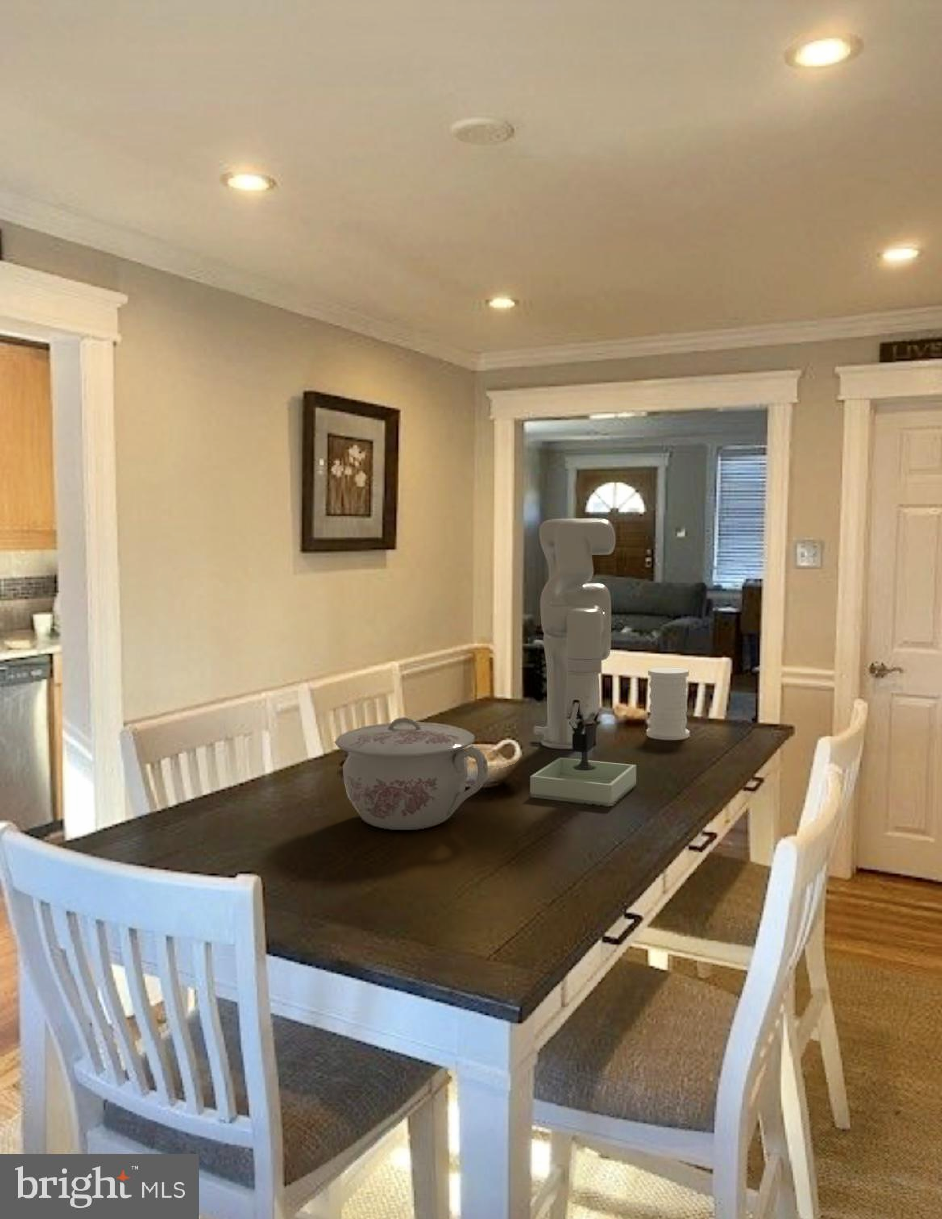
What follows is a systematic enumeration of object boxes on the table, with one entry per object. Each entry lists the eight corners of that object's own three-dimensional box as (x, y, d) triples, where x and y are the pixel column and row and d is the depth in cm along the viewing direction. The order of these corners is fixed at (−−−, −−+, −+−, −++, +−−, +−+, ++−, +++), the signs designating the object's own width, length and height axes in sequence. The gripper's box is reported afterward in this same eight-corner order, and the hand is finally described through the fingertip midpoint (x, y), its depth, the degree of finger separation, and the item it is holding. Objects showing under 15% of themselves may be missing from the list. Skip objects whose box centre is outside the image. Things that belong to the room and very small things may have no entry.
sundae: (562, 768, 209) (562, 700, 208) (581, 762, 214) (581, 696, 213) (587, 773, 204) (587, 703, 203) (605, 767, 209) (605, 699, 208)
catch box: (530, 797, 205) (530, 776, 205) (559, 776, 222) (559, 757, 221) (611, 806, 198) (611, 785, 197) (636, 785, 214) (636, 765, 213)
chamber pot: (321, 811, 197) (318, 711, 196) (445, 794, 208) (444, 700, 206) (360, 853, 172) (358, 739, 170) (500, 832, 183) (499, 724, 181)
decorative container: (657, 741, 256) (657, 674, 255) (639, 732, 267) (639, 668, 266) (697, 738, 259) (697, 672, 257) (678, 729, 270) (678, 666, 268)
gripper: (580, 659, 217) (580, 739, 218) (553, 670, 201) (553, 755, 203) (612, 661, 213) (612, 742, 215) (587, 672, 198) (587, 759, 200)
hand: (584, 748), depth 209 cm, fingers closed on sundae, 4 cm apart
